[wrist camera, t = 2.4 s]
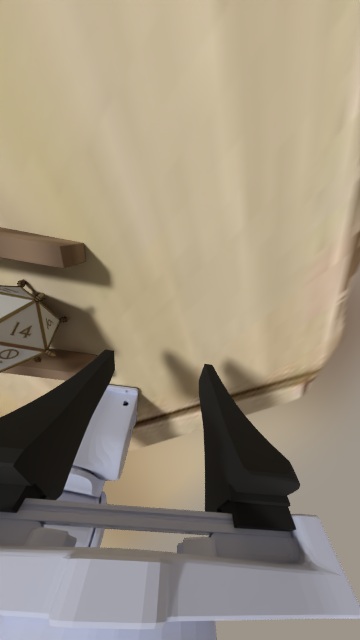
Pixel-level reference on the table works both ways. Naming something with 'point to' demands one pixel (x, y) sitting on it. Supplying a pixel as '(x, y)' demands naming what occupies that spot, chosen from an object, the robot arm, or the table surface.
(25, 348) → the game die
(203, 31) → the table surface
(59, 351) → the walnut chute
